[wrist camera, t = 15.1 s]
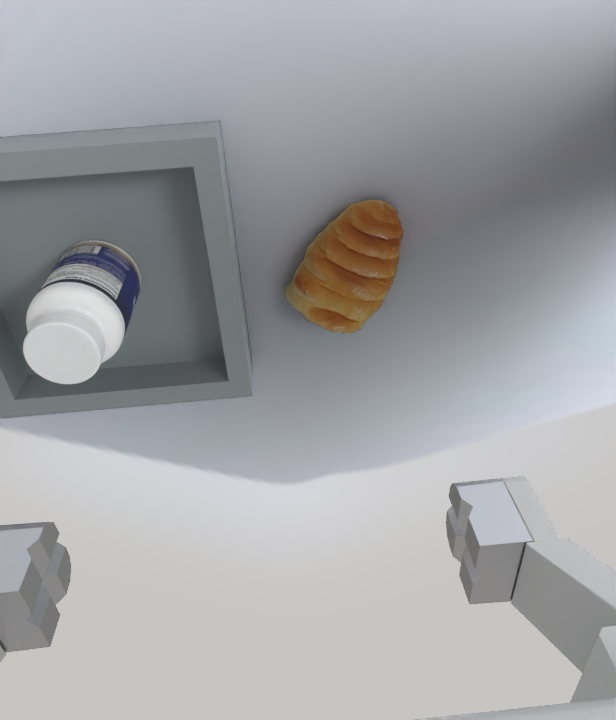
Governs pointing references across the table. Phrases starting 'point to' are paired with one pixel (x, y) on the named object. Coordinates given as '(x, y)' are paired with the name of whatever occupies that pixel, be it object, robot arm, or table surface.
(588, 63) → the table surface
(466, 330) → the table surface
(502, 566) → the robot arm
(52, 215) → the tray
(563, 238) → the table surface
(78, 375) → the pill bottle
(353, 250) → the pastry
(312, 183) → the table surface
